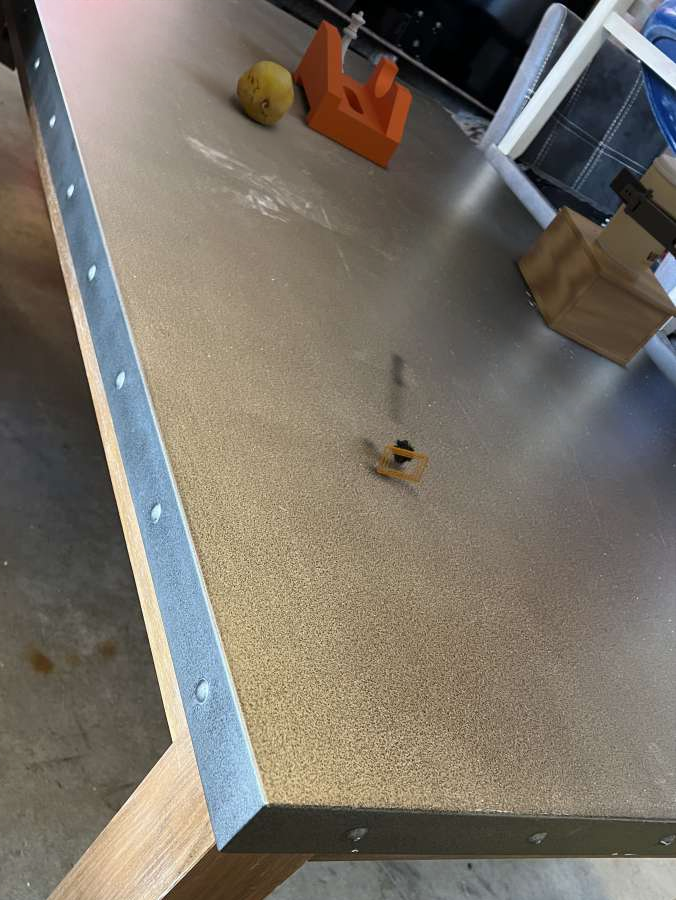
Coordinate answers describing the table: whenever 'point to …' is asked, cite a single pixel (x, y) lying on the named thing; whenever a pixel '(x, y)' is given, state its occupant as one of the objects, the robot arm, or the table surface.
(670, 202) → the coffee cup
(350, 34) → the chess piece
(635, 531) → the table surface
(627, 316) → the chest
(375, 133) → the tape dispenser
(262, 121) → the fruit
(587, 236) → the lid
